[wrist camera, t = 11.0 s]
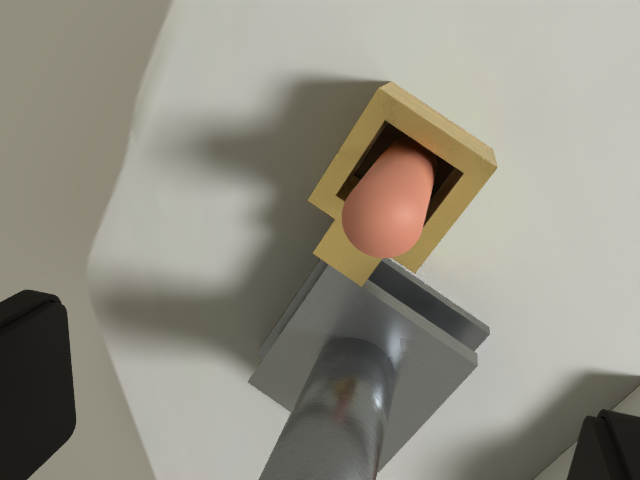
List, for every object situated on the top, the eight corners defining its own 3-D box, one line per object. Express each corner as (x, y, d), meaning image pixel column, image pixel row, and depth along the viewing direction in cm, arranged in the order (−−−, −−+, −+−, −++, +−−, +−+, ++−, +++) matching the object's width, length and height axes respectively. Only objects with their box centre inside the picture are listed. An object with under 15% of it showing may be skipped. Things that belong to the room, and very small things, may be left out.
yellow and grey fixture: (590, 214, 28) (710, 379, 14) (390, 437, 35) (340, 687, 21) (391, 81, 28) (319, 115, 14) (233, 329, 35) (85, 508, 22)
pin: (441, 140, 28) (429, 185, 19) (432, 196, 30) (417, 264, 20) (383, 133, 29) (345, 174, 20) (377, 188, 30) (338, 251, 21)
